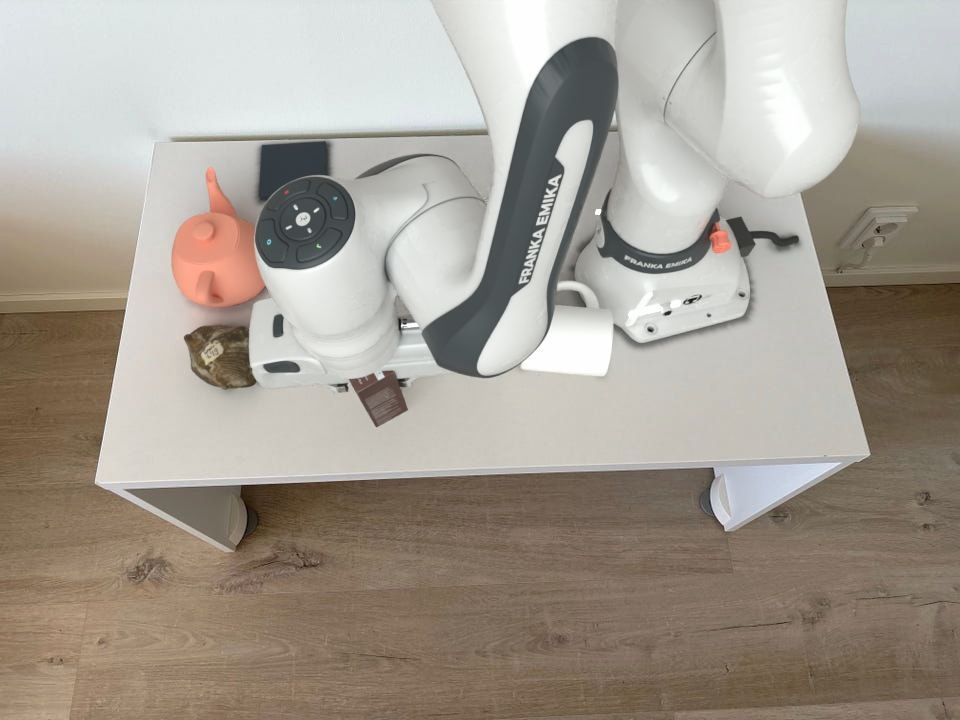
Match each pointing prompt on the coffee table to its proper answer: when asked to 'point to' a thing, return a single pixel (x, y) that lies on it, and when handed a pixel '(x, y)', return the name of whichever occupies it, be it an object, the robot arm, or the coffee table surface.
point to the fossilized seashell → (221, 356)
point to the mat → (289, 164)
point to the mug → (575, 338)
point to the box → (380, 396)
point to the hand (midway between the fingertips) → (373, 383)
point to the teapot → (216, 254)
